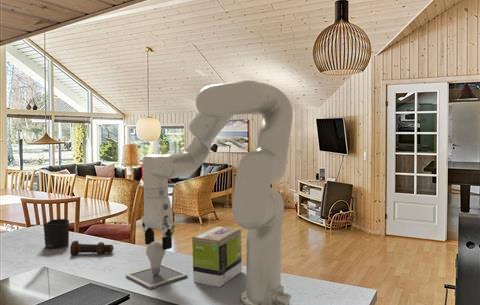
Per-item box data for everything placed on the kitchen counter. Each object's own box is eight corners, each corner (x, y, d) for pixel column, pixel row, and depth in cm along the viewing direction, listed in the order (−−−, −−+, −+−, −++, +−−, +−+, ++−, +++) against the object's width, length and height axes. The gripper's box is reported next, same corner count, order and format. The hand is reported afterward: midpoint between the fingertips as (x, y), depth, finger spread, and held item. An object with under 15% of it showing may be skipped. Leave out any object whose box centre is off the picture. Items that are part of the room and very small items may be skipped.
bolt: (111, 259, 152) (71, 258, 151) (114, 249, 156) (75, 248, 155) (110, 248, 149) (68, 247, 148) (113, 238, 153) (73, 237, 152)
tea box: (216, 267, 138) (216, 225, 137) (242, 272, 133) (242, 228, 132) (191, 282, 124) (191, 235, 124) (219, 288, 120) (219, 239, 119)
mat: (187, 276, 129) (187, 274, 129) (150, 289, 119) (150, 286, 119) (162, 266, 138) (162, 263, 138) (125, 277, 128) (125, 274, 128)
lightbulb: (161, 279, 125) (161, 244, 124) (143, 277, 126) (143, 243, 125) (168, 272, 131) (168, 239, 131) (150, 271, 132) (150, 238, 131)
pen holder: (41, 245, 163) (40, 221, 163) (65, 241, 169) (64, 218, 169) (47, 250, 156) (47, 225, 155) (72, 246, 162) (72, 222, 161)
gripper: (182, 193, 123) (184, 248, 124) (151, 189, 135) (153, 239, 136) (161, 197, 118) (164, 254, 119) (131, 192, 130) (133, 244, 131)
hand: (158, 246), depth 128 cm, fingers open, 9 cm apart
